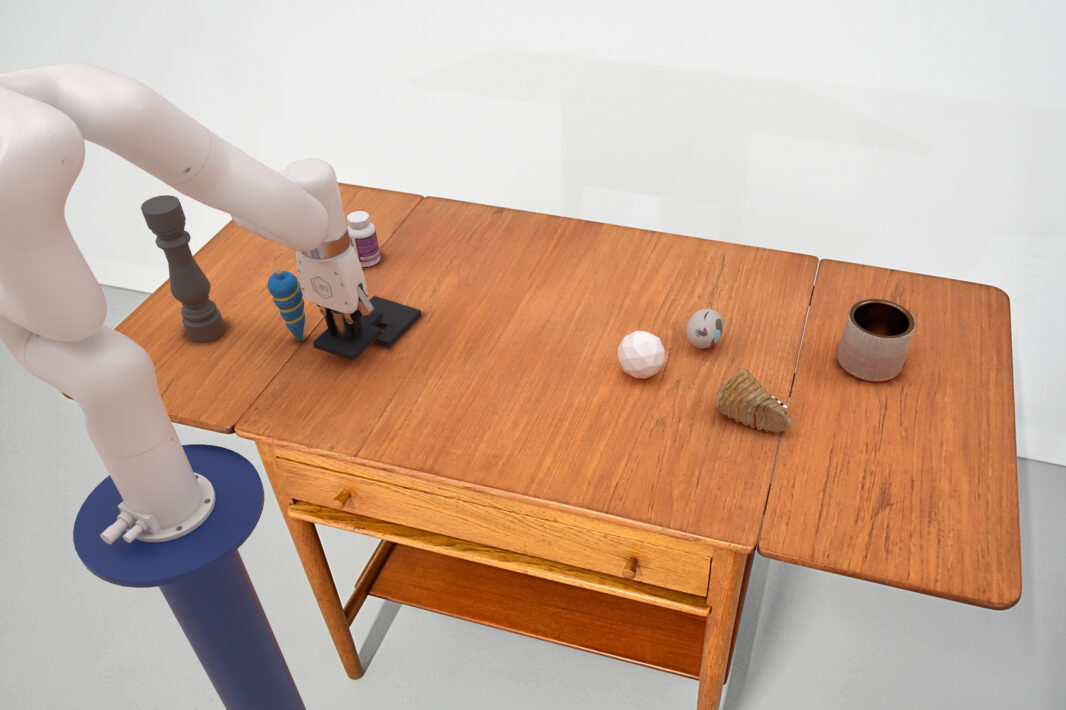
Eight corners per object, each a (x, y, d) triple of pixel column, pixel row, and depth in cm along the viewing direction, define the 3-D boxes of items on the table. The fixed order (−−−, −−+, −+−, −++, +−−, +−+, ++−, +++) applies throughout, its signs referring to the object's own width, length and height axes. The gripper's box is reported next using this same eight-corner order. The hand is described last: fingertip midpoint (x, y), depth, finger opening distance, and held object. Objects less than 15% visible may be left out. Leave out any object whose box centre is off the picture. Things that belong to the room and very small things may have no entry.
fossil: (719, 386, 147) (709, 417, 140) (729, 358, 143) (719, 388, 136) (790, 410, 146) (783, 442, 139) (801, 382, 142) (795, 414, 135)
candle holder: (179, 337, 154) (129, 209, 137) (204, 316, 158) (159, 191, 141) (208, 346, 153) (161, 218, 136) (233, 325, 157) (190, 199, 140)
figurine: (712, 363, 151) (716, 332, 146) (678, 354, 153) (681, 323, 148) (726, 336, 156) (730, 305, 152) (693, 327, 158) (696, 297, 154)
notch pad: (389, 348, 153) (388, 342, 152) (341, 331, 156) (340, 326, 155) (421, 315, 160) (421, 310, 159) (375, 300, 163) (374, 295, 162)
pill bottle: (385, 254, 173) (378, 211, 167) (373, 270, 170) (364, 226, 163) (360, 250, 174) (351, 206, 168) (347, 265, 171) (337, 221, 164)
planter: (824, 348, 154) (835, 304, 148) (880, 337, 157) (893, 292, 150) (856, 389, 147) (869, 344, 140) (914, 376, 149) (929, 331, 143)
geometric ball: (630, 378, 152) (620, 332, 151) (675, 371, 149) (665, 323, 148) (616, 386, 145) (606, 337, 144) (663, 378, 142) (653, 329, 141)
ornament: (307, 351, 152) (287, 279, 142) (279, 348, 153) (257, 275, 142) (319, 332, 156) (301, 260, 145) (291, 329, 156) (271, 257, 146)
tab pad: (353, 361, 146) (345, 329, 141) (313, 347, 148) (304, 315, 144) (394, 321, 154) (388, 289, 149) (355, 309, 156) (348, 277, 151)
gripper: (264, 239, 136) (292, 333, 149) (353, 266, 131) (374, 361, 144) (296, 215, 141) (320, 308, 154) (383, 241, 136) (400, 334, 149)
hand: (346, 333), depth 149 cm, fingers closed on tab pad, 3 cm apart
